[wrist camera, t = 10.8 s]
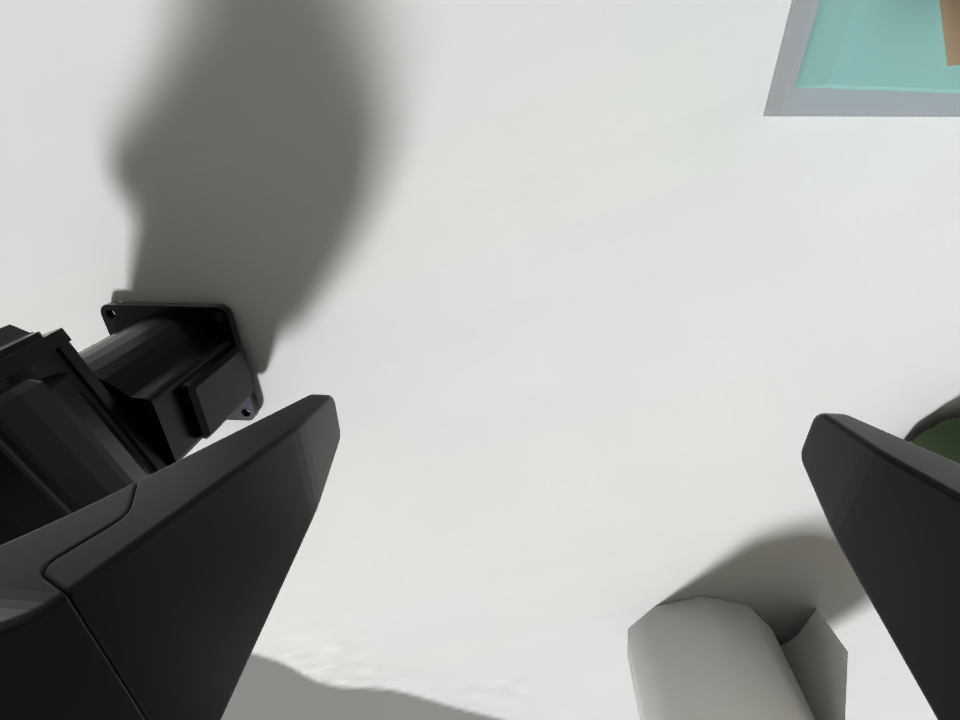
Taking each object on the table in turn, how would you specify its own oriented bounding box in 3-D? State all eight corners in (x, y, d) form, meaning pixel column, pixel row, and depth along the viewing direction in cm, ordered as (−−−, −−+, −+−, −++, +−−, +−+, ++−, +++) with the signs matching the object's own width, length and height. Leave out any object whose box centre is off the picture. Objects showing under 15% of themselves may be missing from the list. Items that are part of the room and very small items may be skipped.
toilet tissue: (851, 599, 29) (967, 773, 21) (702, 696, 35) (752, 859, 27) (733, 540, 27) (813, 704, 20) (599, 652, 33) (621, 811, 26)
